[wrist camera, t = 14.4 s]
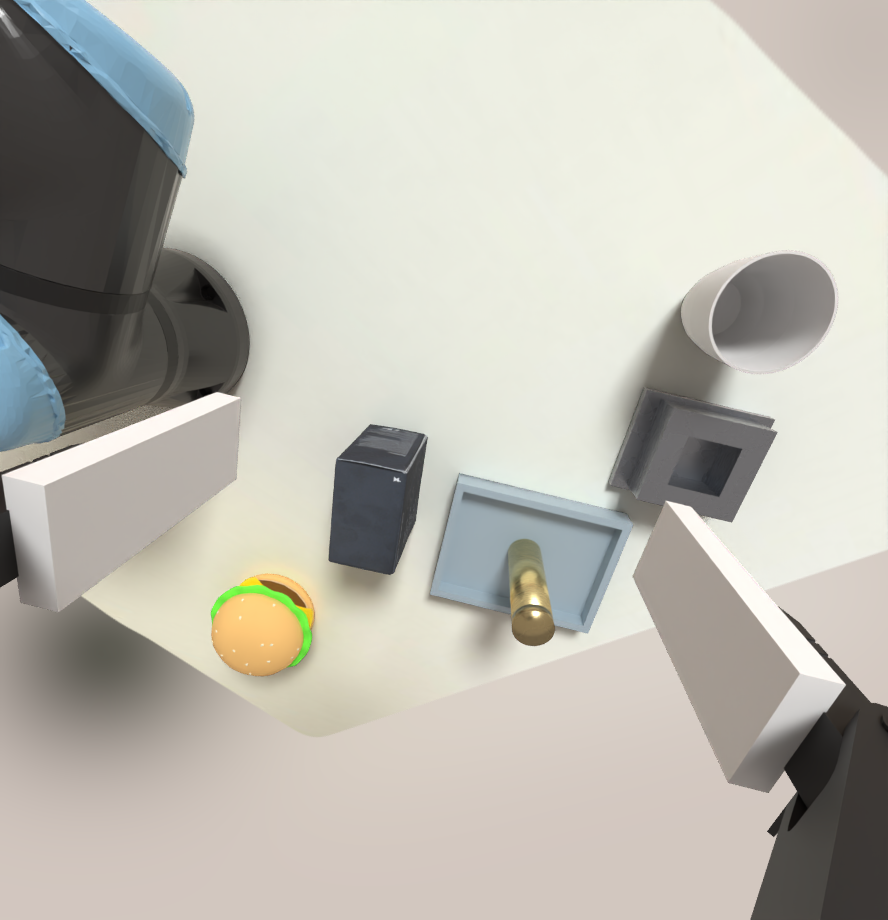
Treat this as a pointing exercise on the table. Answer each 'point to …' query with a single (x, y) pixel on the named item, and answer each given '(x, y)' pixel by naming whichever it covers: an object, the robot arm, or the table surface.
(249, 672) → the hamburger
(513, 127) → the table surface
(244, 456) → the table surface
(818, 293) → the cup
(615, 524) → the tray
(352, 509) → the box
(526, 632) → the pin
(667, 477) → the block
